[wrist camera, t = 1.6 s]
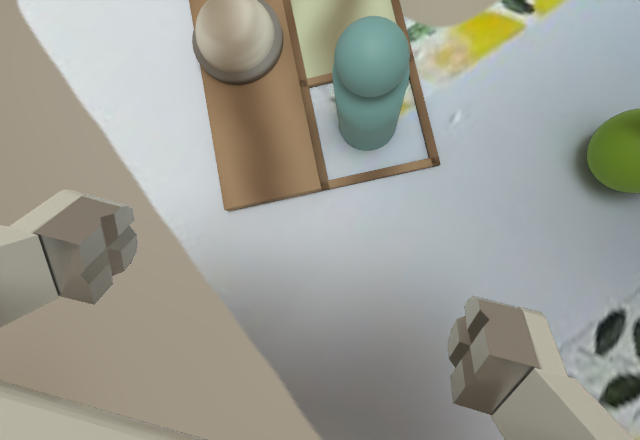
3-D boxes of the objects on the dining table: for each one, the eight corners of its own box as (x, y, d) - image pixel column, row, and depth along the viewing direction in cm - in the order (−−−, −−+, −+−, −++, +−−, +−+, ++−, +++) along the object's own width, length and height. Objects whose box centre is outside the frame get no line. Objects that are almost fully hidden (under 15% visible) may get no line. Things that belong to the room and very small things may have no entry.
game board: (365, -115, 34) (367, -196, 28) (436, 168, 30) (455, 144, 24) (185, -65, 35) (149, -133, 29) (232, 213, 31) (203, 200, 25)
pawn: (389, 90, 30) (407, -16, 19) (401, 143, 30) (428, 66, 18) (334, 103, 31) (319, 6, 19) (345, 155, 30) (337, 88, 19)
